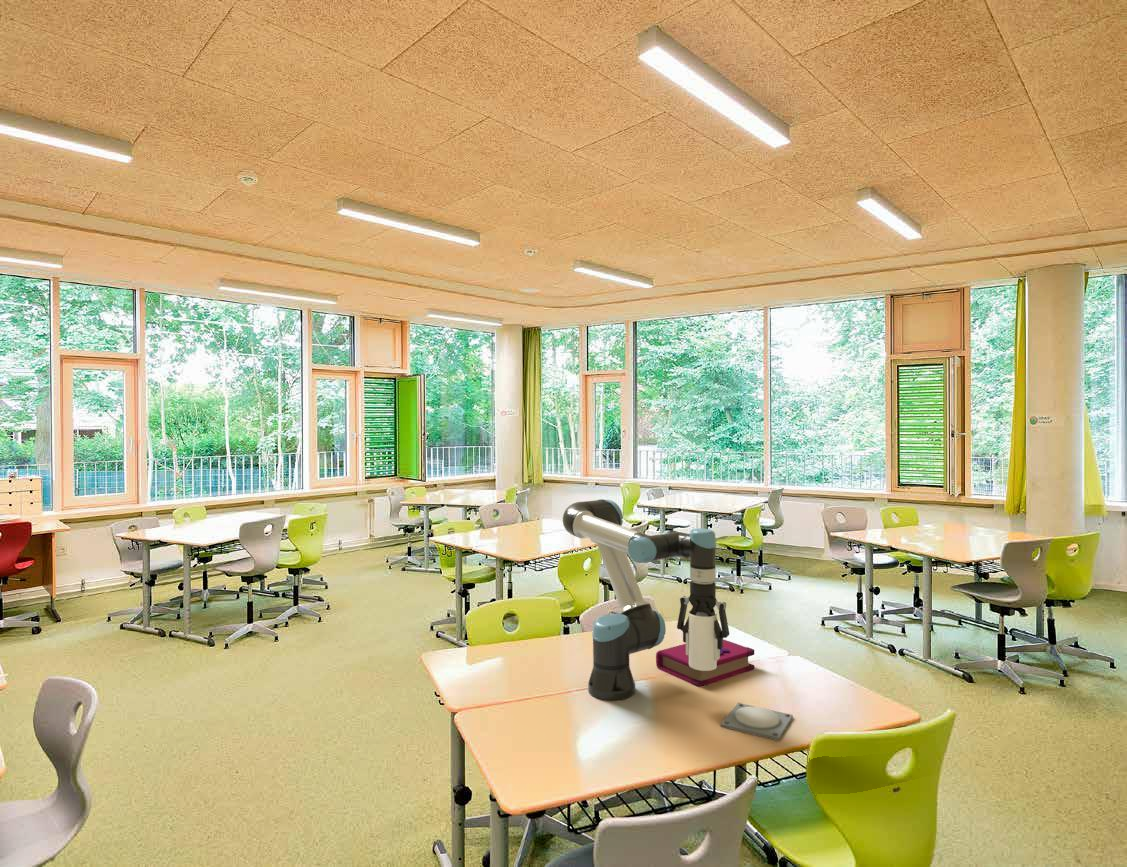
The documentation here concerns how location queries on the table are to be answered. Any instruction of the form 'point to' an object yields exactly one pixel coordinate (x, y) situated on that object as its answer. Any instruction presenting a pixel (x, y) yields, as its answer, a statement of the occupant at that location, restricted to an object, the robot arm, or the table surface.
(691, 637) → the cup
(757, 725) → the flange board
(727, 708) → the table surface
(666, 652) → the book
